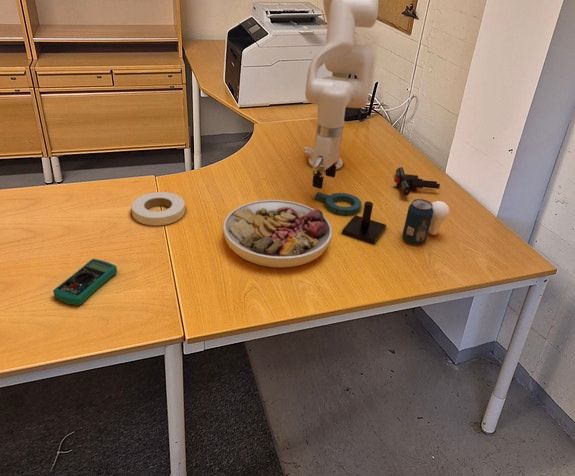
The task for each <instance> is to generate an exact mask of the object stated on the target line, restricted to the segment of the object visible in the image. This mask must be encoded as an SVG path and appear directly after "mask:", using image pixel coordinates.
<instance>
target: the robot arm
mask: <svg viewBox="0 0 575 476" xmlns="http://www.w3.org/2000/svg"><path fill="white" fill-rule="evenodd" d="M322 3H323V11H324V15H325V19H326V23H327V24H326V25H327V28H326V37H325V44H324V46H323V47H322V48H321V49H320V50H319V51H318V52H317V53H316V54H315V55H314V56H313V58H312V60H311V61H310V63H309V66H308V68H307V69H308V70H307V75H306V82H305V99H306V101H307V102H308V103H310V104H313V105H317V112H316V113H317V114H316V125H315V134H314V135H315V137H314V145H313V148H312V147H310V146H305V147H304V148H303V151H304V155H309V158H308V164H309V165H310V166H311V167H312V185H311V186H312V187H313V188H317V189H319V190H321V189H323V187H324V179H325V178H324V177H325V176H326V177H329V178H335V177H336V172H337V170H340V169H341V168H342V167H343V164H344V161H343V159H342V158H340V157H341V156H340V153H341V147H342V140H343V131H344V125H345V124H344V123H345V115H346V108H350V109H363V108H365V107H366V106H367V104H368V103H369V102H368V101H369V96H370V90H371V80H372V72H373V71H372V70H373V63H374V62H373V61H374V54H373V50H372V48H371V47H370V46H368V45H363V44H355V35H356V28H367V29H370V28H373V27H374V26H375V24H376V22H377V19H378V14H379V0H322ZM323 65H324V66H325V69H326V70H327V71H328V72H331V73H335V74H344V75H352V76H353V75H354V76H356V78H352V77H344V76H325V77H323V78H317V74H318V71H319V69H320V68H321V67H322V66H323ZM320 170H321V171H320ZM324 173H325V176H324Z"/></svg>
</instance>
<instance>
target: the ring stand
mask: <svg viewBox="0 0 575 476" xmlns="http://www.w3.org/2000/svg"><path fill="white" fill-rule="evenodd" d="M373 207H374V203H373V202H372V201H368V200H367V201H365V202H364V206H363V210H362V216H360V215H357V214H355V215H353V217H352V218H351V220H350V221H348V222H347V224H346V225H345V226H344V228H343V229H342V232H341V234H342V235H344V236H346V237H347V236H348V237H349V238H350V237H351V238H353V239H357V240H359V241H362V242H365V243H367V244H368V243H369V244H371V245H375V244H376V243H377V241H378V240H379V238H380V237H381V235H382V234H383V233H384V231H385V230H386V229H387V224H386V223H383V222H379V221H376V220H372V219H371V218H372V212H373Z"/></svg>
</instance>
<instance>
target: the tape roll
mask: <svg viewBox="0 0 575 476" xmlns="http://www.w3.org/2000/svg"><path fill="white" fill-rule="evenodd" d="M159 206H162V207H167V209H163V210H151V208H153V207H159ZM185 212H186V205H185V200H184V198H182V197H181V196H180V195H178V194H176V193H172V192H168V191H167V192H166V191H153V192H149V193H145V194H142V195H140V196H138V197H137V198H135V199H134V200H133V201H132V203H131V215H132V217H133V219H134V220H135V221H136V222H138V223H140V224H143V225H147V226H155V227H156V226H165V225H169V224H173V223H176V222H178V221H179V220H180V219H181V218H182V217H184V215H185V214H186V213H185Z"/></svg>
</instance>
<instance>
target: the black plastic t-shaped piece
mask: <svg viewBox="0 0 575 476" xmlns="http://www.w3.org/2000/svg"><path fill="white" fill-rule="evenodd" d="M395 174H396V177H394V179H393V181H394V183H396V189H401V190H402V193H403V195H404V196H405V197H408V196H409V195H410V194H411V193H412V191H417V189H418V188H420V189H423V188H424V189H425V188H426V189H436V190H440V187H441V184H440V183H438V181H435V180H425V179H422V178H419V175H416V174H407V173H405V170H404V167H402V166H400V167H398V168H397V169H395Z"/></svg>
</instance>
